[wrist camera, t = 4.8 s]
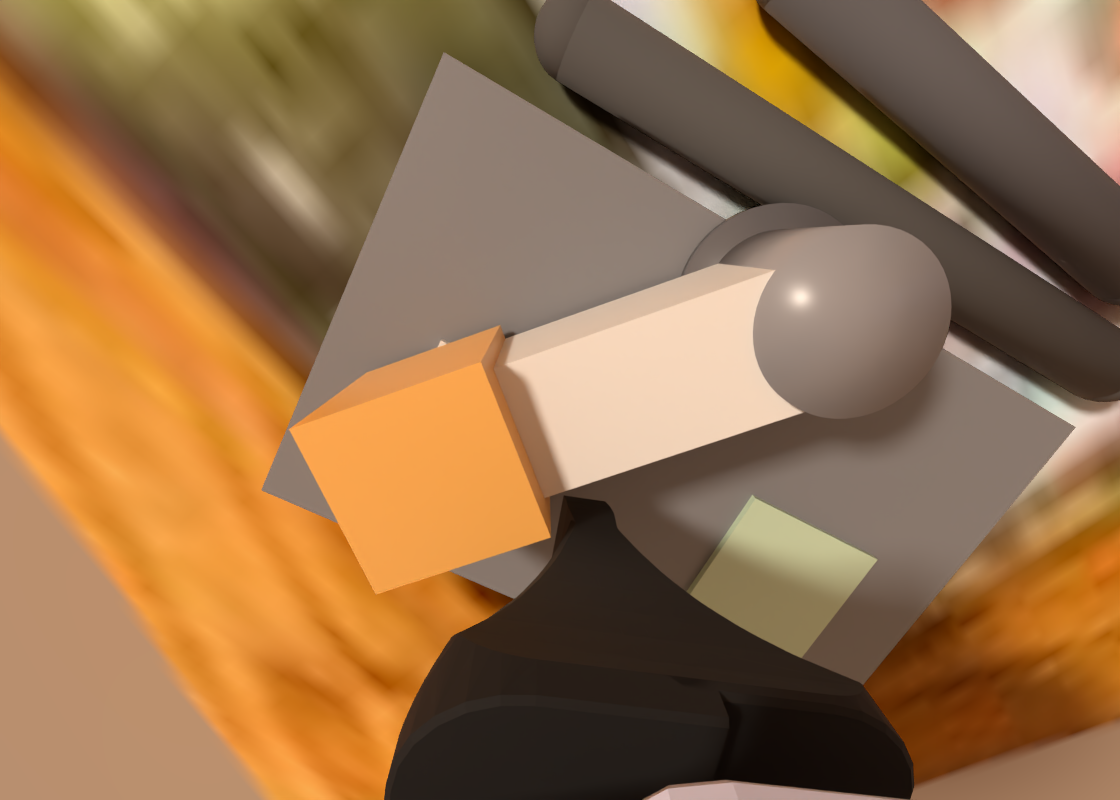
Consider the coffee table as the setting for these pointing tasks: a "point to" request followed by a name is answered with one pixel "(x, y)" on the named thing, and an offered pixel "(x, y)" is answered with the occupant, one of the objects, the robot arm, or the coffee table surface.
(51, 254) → the coffee table surface
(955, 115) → the dark grey rounded rod
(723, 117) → the dark grey rod
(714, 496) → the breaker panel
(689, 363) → the lever
